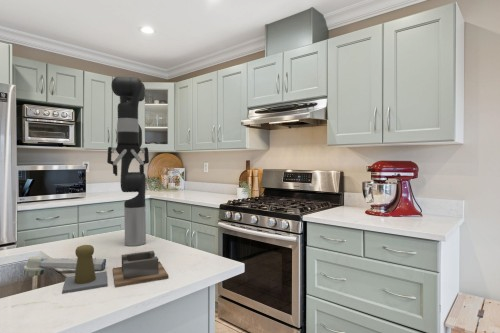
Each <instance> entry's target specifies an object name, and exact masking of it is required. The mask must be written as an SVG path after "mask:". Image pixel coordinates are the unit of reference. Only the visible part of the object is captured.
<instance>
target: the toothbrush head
mask: <svg viewBox="0 0 500 333" xmlns="http://www.w3.org/2000/svg"><path fill="white" fill-rule="evenodd" d="M92 258H93V257H92ZM93 264H94V270H95V271H104V270H105V268H106V264H107V259H106V258H97V257H94V258H93ZM76 265H77V258H74V257H72V258H69V257H68V258H65V257H64V258H63V257H62V258H56V257H55V258H53V257H52V258H51V257H49V258H46V257H45V258H44V257H42V256H30V257H29V258H28V260H27V264H25V265H24V266H23V270H24V272H23V273H24V274H23V275H24V277H26V276H28V277H30V278H34V277H35V276H37V277H38V276H42V275H44V273H45V270H46V269H63V270H64V269H66V270H76Z"/></svg>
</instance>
